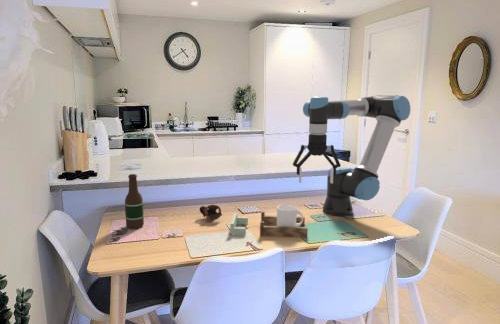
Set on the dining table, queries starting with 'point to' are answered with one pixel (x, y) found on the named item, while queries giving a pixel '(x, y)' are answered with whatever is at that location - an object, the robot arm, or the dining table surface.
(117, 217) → the dining table surface
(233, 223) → the end stop
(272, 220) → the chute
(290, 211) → the mug
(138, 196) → the beer bottle
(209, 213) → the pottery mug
